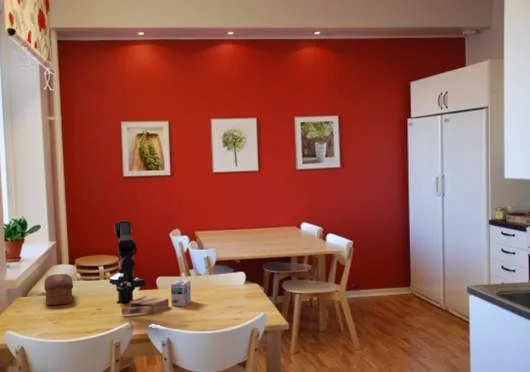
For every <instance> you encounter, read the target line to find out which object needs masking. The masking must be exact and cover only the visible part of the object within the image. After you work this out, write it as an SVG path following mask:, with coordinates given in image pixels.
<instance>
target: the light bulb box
mask: <svg viewBox="0 0 530 372" xmlns="http://www.w3.org/2000/svg"><path fill="white" fill-rule="evenodd" d="M170 292H171V293H170V295H171V296H170V297H171V306H172V307H184V306H186V305H188V304H189V303H191V301H192V298H191V297H192V294H191V280H189V279H177V280H176V281H174V282H173V283H171V284H170Z"/></svg>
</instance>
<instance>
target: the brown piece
mask: <svg viewBox="0 0 530 372" xmlns="http://www.w3.org/2000/svg"><path fill="white" fill-rule="evenodd" d="M128 304H129V305H128V306H129V307H128V308H131V307H143V306H153V312H152V313H151V314H155V313H157V312H160V311H162V310H164V309H167V308H169V307H170V306H169V305H170V304H169V298H164V297H155V296H147V295H145V296H142V297H139V298H136V299H133V301H130V302H129V303H128Z"/></svg>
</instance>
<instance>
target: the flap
mask: <svg viewBox="0 0 530 372" xmlns="http://www.w3.org/2000/svg"><path fill="white" fill-rule="evenodd" d="M152 312H153V306H143V307H131V308H129V307H121V315H122V316H126V315H137V314H153V313H152Z"/></svg>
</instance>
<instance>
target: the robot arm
mask: <svg viewBox="0 0 530 372" xmlns="http://www.w3.org/2000/svg"><path fill="white" fill-rule="evenodd" d="M113 227H114V234H115V236H116V238H117V239H118V242H117V252H118V256H119V263H120V264H119V265H120V268H119V269H118V270H117V271H118V272H117V273H115V274H114V275H112V276H110V278H109V284H111V285H112V286H115V288H116V289H115V291H116V292H117V294H118V295H117V296H118V297H117V298H118V299H117V301H116V303H118V304H124V305H126V304H129V302H130V301H133V300H134V296H133V294H134V293H133V292H134V291H135V290H136V288H140V287H145V286H147V285H146V284H147V281H146V280H145V279H143V278H136V276H135V275H134V271H136V267H135V264H136V263H135V259H134V255H136V254H137V252H138V250H137V243H136V241H134V239H133V236H131V234H132V231H133V225H132V222H130V221H129V220H119V221H117V222H115V223H114V226H113Z"/></svg>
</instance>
